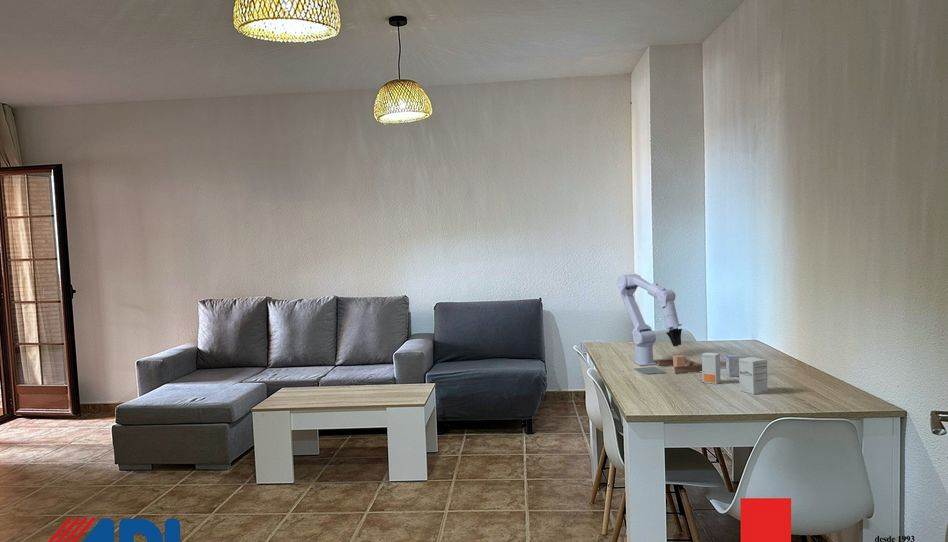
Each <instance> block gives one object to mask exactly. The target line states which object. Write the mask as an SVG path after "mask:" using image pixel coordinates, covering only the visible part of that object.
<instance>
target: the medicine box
mask: <svg viewBox="0 0 948 542" xmlns="http://www.w3.org/2000/svg"><path fill="white" fill-rule="evenodd" d="M748 357H749V356H747V355H746V354H726V356H725V360H726V363H725V364H726V367H725V368H726V369H725V370H726V376H727V377H729V378H733V377H732V376H735V377H738V376H739V359H741V358H748ZM735 377H734V378H735Z"/></svg>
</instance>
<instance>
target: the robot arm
mask: <svg viewBox="0 0 948 542" xmlns="http://www.w3.org/2000/svg"><path fill="white" fill-rule="evenodd" d="M616 285H617V287H618V290H619V292H620V297H621V299H622V302H623V304H624V305H625V306H624V307H625V309H626V311H627V313H628V316H629V318H630V320H631V323H632V325H633V327H634V328H633V330H632V331H631V334H632V340H633V342H634V344H635V348H634V357H635V359H634V361H633V363H635V364H636V365H639V366H650V365H657V363H656V362H654V349H653V345H654V344H655V343H656V340H657V335H656V332H655V331H653V329H652V327H651V326H649V324H647V323H646V322H645V319H644V318H643V315H642V313H641V310H640V308H639V306H638V304H637V301H636V299H635V297H634V293H635V292H636V291H637V289H638V288H639V287H640V288H641V289H643V290H645V291H647V295H650V296H651V297H654V298H656V300H657V302H658V303H659V305H660V307H661V310H662V313H663V317H664V318H663V319H664V323H665V328H666V329H667V330H668V331H666V332H665V334H666V335H667V336H668V338H669V340H670V342H671V344H672V346H673V347H678V346H681V345H682V330H683V328H679V327H681V326H682V325H683V324H682V323H679V318H678V314H677V309H676V304H675V302H674V301H675V300H676V293H675V291H674V290H672V289H666V288H665V286H663V287H662V286H661V285H659V283H658V282H653V283H650V282H649V281H647V280H646V279H644V278H642V276H641V275H640V274H638V273H632V274H620V275H618V278H617V280H616Z"/></svg>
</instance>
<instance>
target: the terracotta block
mask: <svg viewBox="0 0 948 542" xmlns="http://www.w3.org/2000/svg"><path fill="white" fill-rule="evenodd" d="M685 358H686V356H685V355H682V354H681V355H680V354H679V355H678V354H676V355H672V359H673V366H672V367H673V368H674V367H678V366H685Z"/></svg>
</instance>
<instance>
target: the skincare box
mask: <svg viewBox="0 0 948 542" xmlns="http://www.w3.org/2000/svg"><path fill="white" fill-rule="evenodd" d="M701 364H702V372H701V373H702V376H701V377H702V383H703V382H704V383H706V384H711V383H712V385H718V384H720V383H721V354H720V353H716V352H704V353H703V352H702V353H701Z"/></svg>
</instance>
